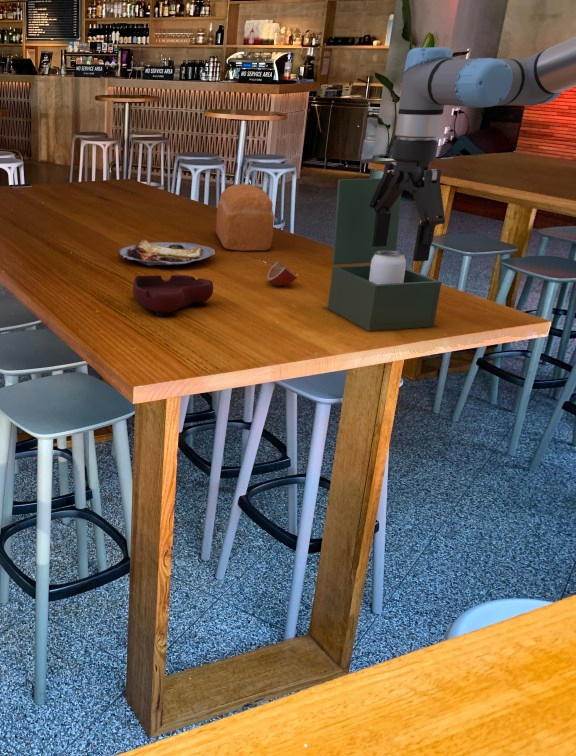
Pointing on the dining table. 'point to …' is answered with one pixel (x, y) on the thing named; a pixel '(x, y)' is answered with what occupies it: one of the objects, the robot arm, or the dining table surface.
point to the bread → (245, 218)
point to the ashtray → (170, 292)
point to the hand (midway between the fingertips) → (398, 253)
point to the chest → (383, 299)
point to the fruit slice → (280, 275)
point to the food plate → (165, 253)
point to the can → (387, 267)
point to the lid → (359, 222)
